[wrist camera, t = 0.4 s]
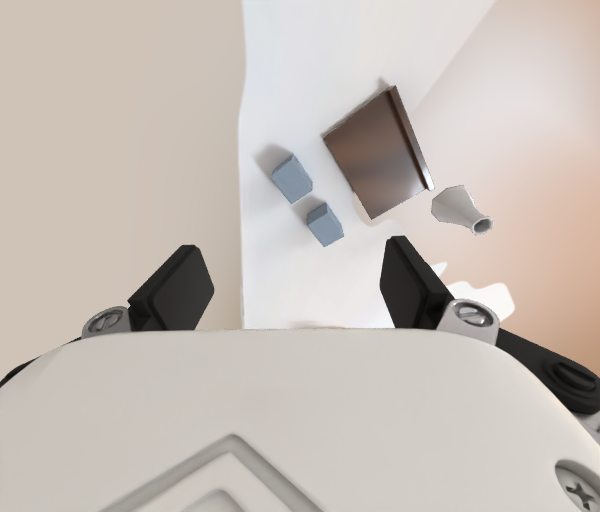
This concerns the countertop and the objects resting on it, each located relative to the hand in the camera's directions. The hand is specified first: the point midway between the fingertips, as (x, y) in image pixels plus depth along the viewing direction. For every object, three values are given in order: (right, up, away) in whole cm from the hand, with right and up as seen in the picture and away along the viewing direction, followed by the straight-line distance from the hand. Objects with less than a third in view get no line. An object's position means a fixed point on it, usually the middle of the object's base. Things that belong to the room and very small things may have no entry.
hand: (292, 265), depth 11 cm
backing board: (+15, +17, +28) cm, 36 cm away
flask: (+30, +11, +32) cm, 45 cm away
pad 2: (+6, +8, +35) cm, 36 cm away
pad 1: (-1, +16, +30) cm, 34 cm away
